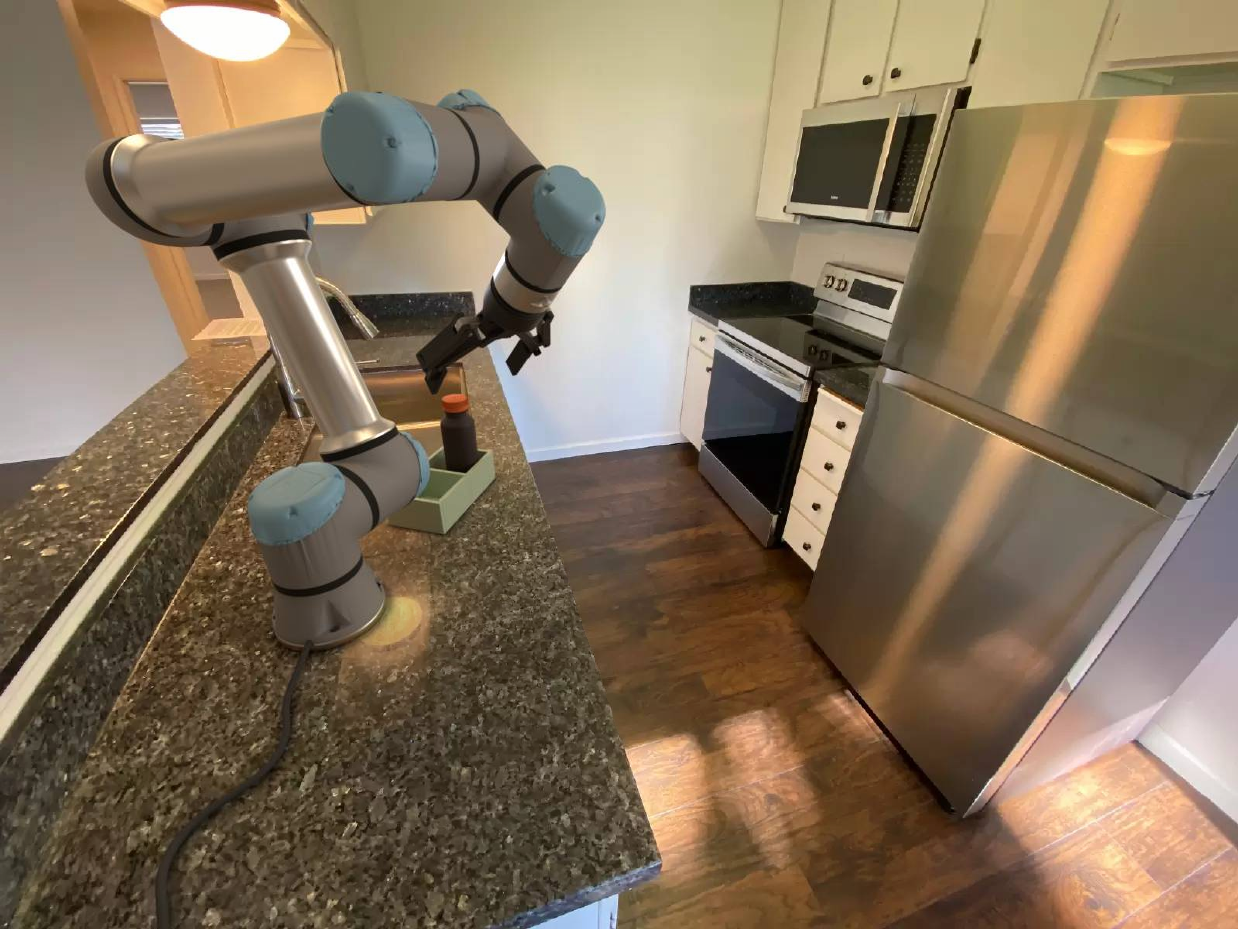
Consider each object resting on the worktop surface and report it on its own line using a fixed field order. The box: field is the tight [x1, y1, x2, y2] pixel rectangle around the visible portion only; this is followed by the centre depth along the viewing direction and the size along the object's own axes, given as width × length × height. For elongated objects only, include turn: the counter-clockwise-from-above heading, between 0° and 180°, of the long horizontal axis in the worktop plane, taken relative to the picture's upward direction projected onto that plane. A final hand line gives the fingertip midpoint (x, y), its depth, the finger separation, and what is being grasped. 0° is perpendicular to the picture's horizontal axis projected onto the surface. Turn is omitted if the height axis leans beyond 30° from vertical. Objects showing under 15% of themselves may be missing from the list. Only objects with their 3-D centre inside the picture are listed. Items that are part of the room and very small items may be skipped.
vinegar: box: [439, 393, 479, 473], centre depth 109 cm, size 7×7×20 cm
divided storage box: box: [387, 445, 496, 535], centre depth 107 cm, size 22×12×7 cm, turn 167°
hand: (472, 377), depth 80 cm, fingers open, 13 cm apart
